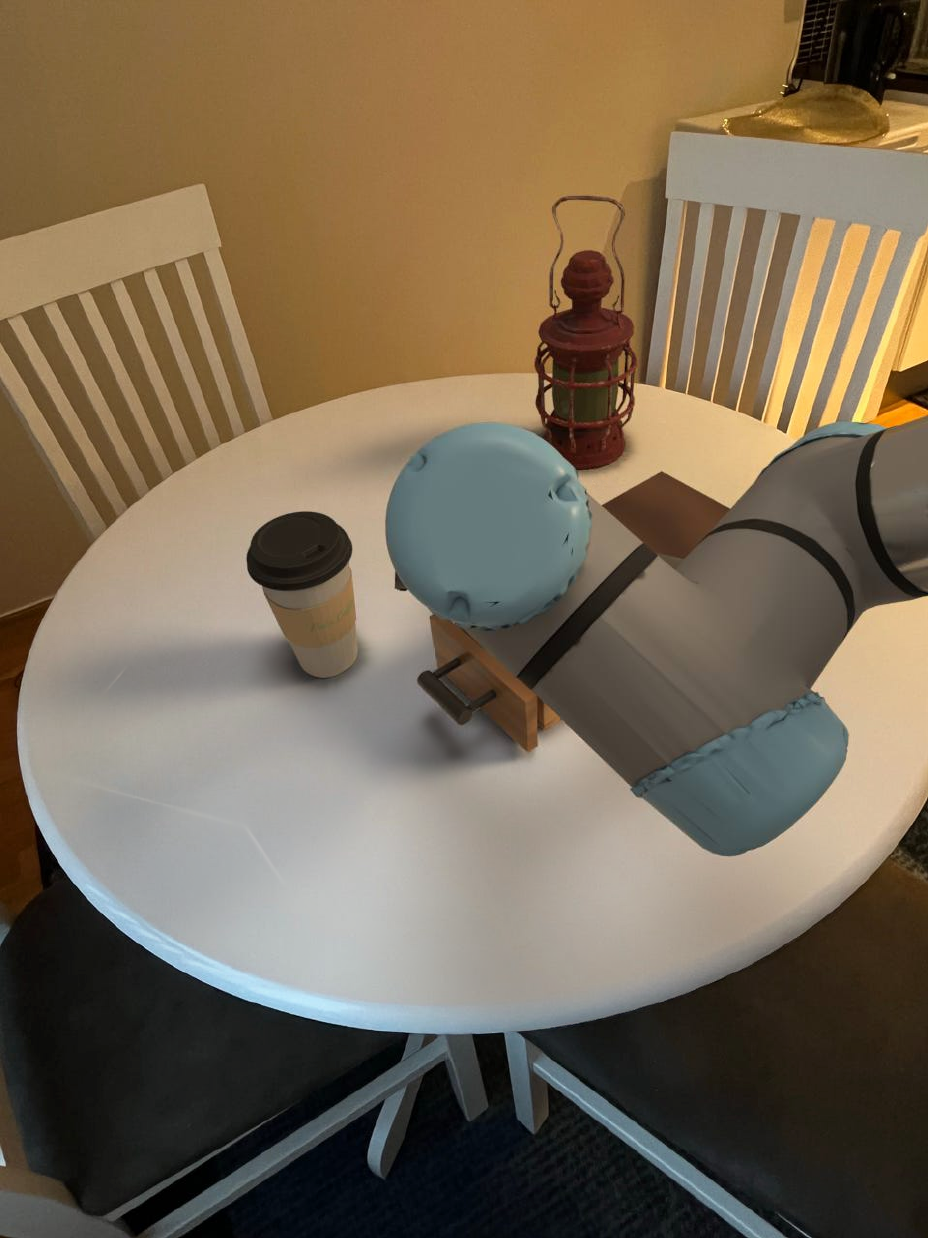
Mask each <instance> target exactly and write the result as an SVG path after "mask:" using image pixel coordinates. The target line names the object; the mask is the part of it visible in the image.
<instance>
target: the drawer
mask: <svg viewBox="0 0 928 1238" xmlns="http://www.w3.org/2000/svg"><path fill="white" fill-rule="evenodd" d="M428 618H429V623H430V630H431V636H432V637H431V638H432V643H433V648H434V649H433V650H434V655H435V656H434V657H435V661H436V667H437V669H435V670H434V671H431V670H429V669H426V670H423V671H422V672H420V674H419V675H418V677H417V679H416V683H417V685H418V686H419V687H420V688H421V689H422V690H423V691H424V692H425V693H426V694H427V695H428V696H429V697H430V698H431V699H432V700H433V701H434V702H435V703H436V704H437V705H438V706H439V707H441V709H442V710H443V711H444V712H445V713H446V714H448V716H450V718H451V719H453V721H454V722H456V724H457V725H460V726H464V725H466V724H467V723H468V722H470V720H471V719H472V718H473V714H474V713H475V712H476V711H478V710H479V709H481V711H483V712H484V714H486V715H487V716H488V717H489V718H490V719H491V720H492V721H493V722H494V723H496V725H497V726H498V727H499V728H500V729H502V730H503V731H504V732H505V733H506V735H508V736H509V737H510V738H511V739H512V740H513V741H515V743H516V744H517V745H518V746H519V747H520V748H522V750H524V752H526V754H529V753H530V752H532V751H533V750H535V749H536V748H537V747H539V735H538V733H539V731H538V727H539V728H540V729H542V730H543V731H547V730H548V729H549V728H551V727H552V726H554V725H555V724H557V723H559V721H561V720H562V719H561V718H560V717H559V716H558V715H557V714H556V713H555V712H554V711H553V710H551V709H550V708H549V707H548V706H547V705H546V704H545V703H544V702H543V701H542V700H541V699H540V698H539V697H538V696H537V695H536V694H535V693H534V692H533V691H532V690H531V689H529V688H528V687H527V686H526V685H525V684H524V683H523V682H522V681H521V680H520V679H519V678H515V677H514V676H512V675H511V674H510V673H509V672H508V671H507V670H506V669H505V668H504V667H503V666H502V665H501V664H500V663H499V662H498V661H497V660H496V659H495V658H493V657H492V656H491V655H490V654H489V653H488V652H487V651H486V650H485V649H484V648H483V647H482V646H481V645H480V644H479V643H478V642H477V641H476V640H475V639H473V638H472V637H471V636H470V635H469V634H468V633H467V632H466V631H465V630H464V629H463V628H462V627H458V626H457V625H456V624H455V623H454V622H452V621H449V620H441V619H439V618H438V617H437V616H435V615H434V614H431V615H429V617H428ZM444 676H446V677H447V678H448V679H449V680H450V681H451V682H452V683H453V684H454V685H455V686H456V687H457V688H459V690H460V691H462V692H463V694H464V695H466V696H467V697H468V698H469V700H471V702H470V703H468V704H466V703H465V702H464V701H462V699H461V698H459V697H458V695H457V694H455V693H454V691H453V690H451V689H450V688H449V687H448V686H447V685H446V684H445V683H444V682H443V681H442V680H441V678H443V677H444Z"/></svg>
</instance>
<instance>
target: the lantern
mask: <svg viewBox="0 0 928 1238" xmlns="http://www.w3.org/2000/svg"><path fill="white" fill-rule="evenodd" d="M567 201H591V202H607V203H610V204H612V205H615V206H616V207H617V208H618V210H619V211H620V217H619V218H620V219H619V222H618V224H617V227H616V229H615V231H614V233H613V235H612V239H611V241H612V242H611V250H612V255H613V257H614V260H615V262H616V264H617V267H618V269H619V272H620V279H621V283H620V284H621V285H620V288H621V289H620V295H619V294H618V295H617V297H616V300H615V301H614V302H613V304H612V305H611V306H612V309H609V308H606V307H602V305H603V304H602V303H603V299H604V298H605V297H607V295H608V294H610V289H611V288H612V286H613V284H614V276H613V271H612V269H611V267H610V265H609V263H608V262H607V259H606V257H605V256H604V255H603V253H601V252H600V251H597V250H592V249H585V250H581V251H577V252H575V253H574V254H573V255H572V256H571V257H570V258H569V260H568V265H566V267H564V269H563V271H562V277H561V279H560V286H561V288H562V290H563V294H564V295H565V297H567V298H568V299H569V300H571V308H569V309H565V310H562V311H558V312H557V310H558V308H559V307H560V306H561V303H562V302H561V299H560V298H559V297H558V295H557V290H556V289H554V271H555V270H554V269H555V265H556V263H557V261H558V260H559V257H560V255H561V254H562V251H563V248H564V243H565V242H564V234H563V231H562V228H561V226H560V224H559V221H558V217H557V210H556V209H557V207H559V205H560V204H561V203H563V202H564V203H565V202H567ZM551 214H552V218H553V220H554V223H555V225H556V227H557V229H558V232H559V237H560V245H559V249H558V251H557V253H556V256H555V258H554V260H553V261H552V263H551V266H550V268H549V277H548V278H549V279H548V280H549V284H548V285H549V286H548V287H549V288H548V289H549V292H548V293H549V307H550V308H551V309H553V312H554V313H553V314H552V315H549V316H548V317H547V318H545V319H544V320H543V321H542V322H540V326H539V329H538V331H537V332H538V336H539V339H540V340H541V342H540V343H539V344H538V346H537V349H536V355H535V358H534V365H533V367H534V369H535V371H536V373H537V382H538V387H537V388H538V389H537V394H536V396H535V408H536V410H537V413H538V415H540V421H541V422H540V423H541V425H542V427H543V428H544V429H545V433H544V437H543V439H544V440H545V441H547V442H548V443H549V444H550V445H552V446H553V447H554V448H555V449H556V450H557V451H558V452H559V453H560V454H561V455H562V457H564V458H565V459H566V460H567V461H568V462H569V463H570V464H571V465H572V466H573V467H574V468H575V469H576V470H592V469H597V468H602V467H605V466H607V465H610V464H612V463H614V462H615V461H616V460H618V459H619V458H620V457H622V455H623V454H624V452H625V449H626V446H627V445H626V444H627V443H626V440H625V433H624V426H626V424H627V423H629V421H631V419H632V415H633V412H634V407H635V404H636V403H635V402H636V398H635V394H634V390H635V389H634V387H635V378H636V377H635V375H636V369H637V368H638V357H637V354H636V353H635V352H634V350H633V348H632V347H631V339H632V337H633V336H634V334H635V324H634V322H633V320H632V319H631V318H630V317H629V316H627V315H625V314H624V312H625V284H626V283H625V280H626V277H625V272H624V271H625V270H624V269H623V266H622V264H621V262H620V259H619V257H618V254H617V253H616V246H615V242H616V236H617V234H618V232H619V230H620V228H621V226H622V224H623V223H624V219H625V216H626V209H625V208H624V206H623V205H622V204H621V203H620V202H618V200H616V199H614V198H611V197H606V196H596V195H567V196H563V197H560V198H559V199H558V200H556V202H554V204H553V205H552V207H551ZM554 295H555V298H556V301H557V304H553V300H554ZM619 297H620V310H616V308H615V307H616V305H617V303H618V301H619ZM543 345H546V347H544V348H543V349H542V347H543ZM623 353H624V356H625V357H624V370H623V373H622V374H620V375H619V366H620V365H619V363H620V362H619V359H620V357H621V356H622V355H623ZM545 355H546V356H545ZM544 356H545V357H544ZM629 357H630V358H631V360H630V361H631V363H630V365H629V359H630V358H629ZM550 358H551V359H552V368H551V369H552V371H551V373H552V374H551V376H550V375H548V374H547V373H546V368H545V365H546V363H547V361H548V360H549V359H550ZM629 377H630V386H629V381H628V378H629ZM545 381H546V382H547V383H549V384H546V385H545ZM621 381H623V382H621ZM619 388H620V389H621V390H622V400H621V402H620V404H619V405H618V406H617V400H618V395H619ZM550 389H551V398H552V406H553V407H552V408H553V410H552V411H551V413H550V414H549V413H548V412H547V411H546V402H545V401H546V399H545V398H546V397H545V396H546V395H545V394H546V393H547V391H549V390H550ZM627 396H628V399H629V401H628V404H627V405H626V406H627V407H626V408H625V409H624V411H622V412H620V410H621V409H622V407H623V406H624V404H625V403H626V400H627ZM626 416H627V418H626V419H625V420H624V421H623V420H621V419H623V418H625V417H626Z"/></svg>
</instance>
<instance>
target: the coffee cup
mask: <svg viewBox="0 0 928 1238" xmlns="http://www.w3.org/2000/svg"><path fill="white" fill-rule="evenodd" d="M352 555H353V543H352V540H351V539H350V537H349V534H348V532H347V531H346V530H345V529H344V527H342V526H341V525H340V524H338V523H337V522H336V521H335V520H334V519H333V517H330V516H329V515H327V514H325V513H322V512H317V511H310V510H309V511H307V510H306V511H303V510H302V511H294V512H289V513H286V514H281V515H279V516H277V517H274V518H272V519H271V520H269V521H267V522H265V523H264V524H263V525H262V526H260V527H259V528H258V529H257V530H256V532H254V534H253V536H252V538H251V540H250V545H249V547H248V549H247V553H246V559H245V560H246V569H247V573H248V574H249V577H250V578H251V579H252V580H253V581H254V582H255V583H256V584H257V585H259V586H260V587H261V586H262V587H261V588H262V593H263V595H264V597H265V599H266V602H267V604H268V606H269V608H270V610H271V613H272V614H273V616H274V618H275V620H276V622H277V625H278V627H279V628H280V631H281V632H282V634H283V636H284V637H285V639H286V640H287V641H288V644H289V645H290V647H291V649H292V652H293V653H294V655H295V657H296V659H297V661H298V663H299V665H300V667H301V668H302V670H303V671H304V672H305V673H306V674H308V675H310V676H313V677H315V678H322V679H323V678H325V679H326V678H327V679H328V678H331V677H335V676H338V675H341V674H342V673H344V672H345V671H347V670H349V668H350V667H352V666H353V664H354V663H355V662H356V660H357V658H358V654H359V650H358V649H359V648H358V638H357V628H356V627H357V626H356V621H357V611H356V603H355V601H356V600H355V593H354V583H353V572H352V569H351V566H350V560H351V558H352Z"/></svg>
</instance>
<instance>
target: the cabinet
mask: <svg viewBox="0 0 928 1238" xmlns="http://www.w3.org/2000/svg"><path fill="white" fill-rule="evenodd" d="M600 505H601V506H603V507H604V508H605V509H606V510H607V511H608V512H609V513H610V514H612V515H613V516H614V517H615V518H616V519H617V520H618V521H619V522H620V523H622V524H623V525H624V526H625V527H626V528H627V529H628V530H629V531H631V532H632V533H633V534H634V535H635V536H636V537H637V538H638V539H639V540H641V541H642V542H643V543H645V544H646V545H647V546H648V547H649V548H650V549H652V550H653V551H654V552H656V553H660V554H664V555H668V556H672V557H677V558H684V559H685V558H686V557H687V556H688V555H689V554H690V553H691V552H692V551H693V550H694V549H695V547H696V546H697V545H698V543H699V542H700V541H701V540H702V539H703V538H704V537H705V536H706V535H707V534H708V533H709V532H710V531H711V530H712V529H713V528H714V526H715V525H716V524H717V523H718V522H719V521H720V520H721V519H722V518H723V516H724V515H725V514H726V513H727V512H728V511H729V510H730V509H731V507H728V506H726V505H725V504H722V503H721V502H719V501H718V500H716V499H714V498H712V497H710V496H708V495H706V494H705V493H702V492H701V491H699V490H697V489H695V488H694V487H692V486H690V485H688V484H687V483H684V482H683V481H681V480H679V479H677V478H675V477H673V476H672V475H669V474H668V473H667V472H664V471H662V470H661V471H659V472H657V473H656V474H653V475H652V476H651V477H649V478H647V479H645V480H643V481H641V482H640V483H638V484H637V485H634V486H633V487H631V488H629V489H628V490H626V491H624V492H622V493H621V494H618V495H617V496H615V497H613V498H612V499H610V500H607V501H606V502H604V503H603V504H600Z"/></svg>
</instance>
